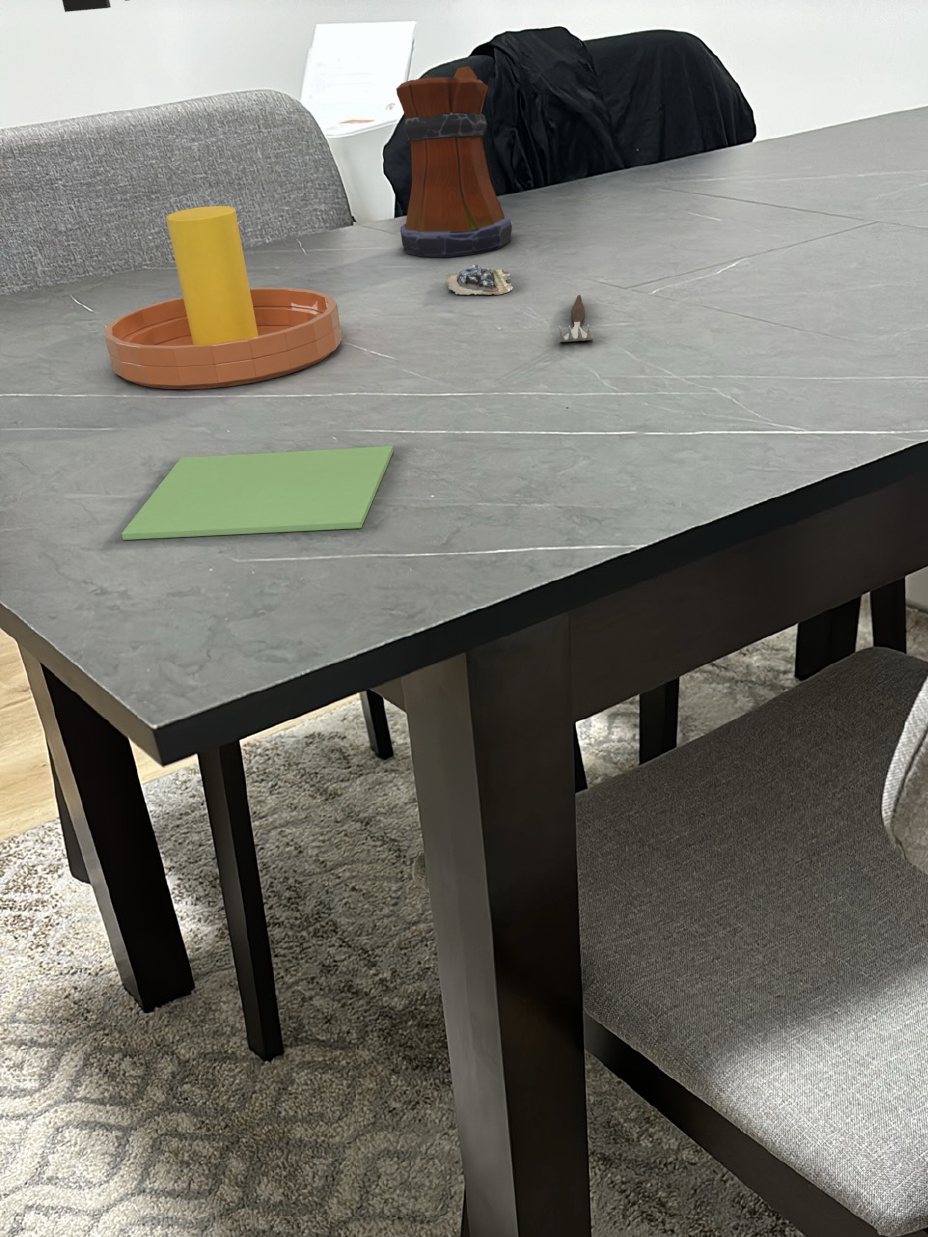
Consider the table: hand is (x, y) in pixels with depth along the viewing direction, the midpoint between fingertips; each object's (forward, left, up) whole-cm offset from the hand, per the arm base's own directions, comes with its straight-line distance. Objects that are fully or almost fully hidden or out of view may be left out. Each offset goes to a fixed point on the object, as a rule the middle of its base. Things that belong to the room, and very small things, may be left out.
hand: (118, 4), depth 88 cm
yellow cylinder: (+1, +6, -24) cm, 24 cm away
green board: (+11, -26, -24) cm, 37 cm away
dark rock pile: (+20, +25, -24) cm, 40 cm away
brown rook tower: (+16, +47, -24) cm, 56 cm away
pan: (+1, +6, -24) cm, 25 cm away
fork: (+29, +9, -24) cm, 39 cm away
